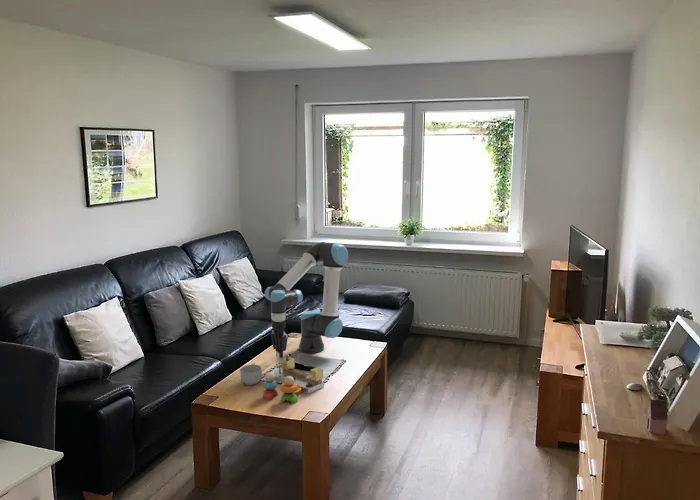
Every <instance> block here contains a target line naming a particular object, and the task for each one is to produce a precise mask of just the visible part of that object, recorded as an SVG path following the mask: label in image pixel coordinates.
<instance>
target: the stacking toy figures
mask: <svg viewBox="0 0 700 500" xmlns="http://www.w3.org/2000/svg"><path fill="white" fill-rule="evenodd" d="M274 374H275V373H274V372H272V371H269V372H266V374H265V376H264V378H265V380H264V382H263V384H262V387H263V389H265V390H264V392H263V395H262V399H263V400H265V401H273V399H274V396H278V395H279V393H278V391H277V389H276V388H277V387H278V382H276V381H275V380H274V379H275V375H274ZM280 391H281V392H283V393H284V394H283V395H282V397H281V399H280V403H284V402H285V401H286V400H287V401H288V402H290V403H291V404H292V405H295V404H297V403H298V402H299V397H298V396H299V395H301V392H302V391H301V387H299V386H297V384H296V383H294V379H293V377H291V376H287V377H285V379H284V383H283V384H281V385H280Z"/></svg>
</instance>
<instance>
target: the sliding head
mask: <svg viewBox="0 0 700 500" xmlns="http://www.w3.org/2000/svg"><path fill="white" fill-rule="evenodd" d="M295 366H296V365H295V358H293V357H291V356H290V355H285V357H283V359H281V363H280V364H278V365H276V367H275V368H276V369H278V373H279V374H281V371H282V370H283V369H286V370H289V369H292V368H293V369H296V367H295ZM281 369H282V370H281Z"/></svg>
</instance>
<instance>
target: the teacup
mask: <svg viewBox="0 0 700 500" xmlns="http://www.w3.org/2000/svg"><path fill="white" fill-rule="evenodd" d="M239 373H240V379H241V381H242V383H244V384H245V385H247V386H253V385H254V386H255V385H257V384H258V383H259V382H260V381H261V380H262V377H263V375H262V365H260V364H256V363H254V362H253V363H251V364H248V365H244V366H241V367H240V368H239Z"/></svg>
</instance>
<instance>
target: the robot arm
mask: <svg viewBox="0 0 700 500" xmlns="http://www.w3.org/2000/svg"><path fill="white" fill-rule="evenodd" d="M348 259H349V251H348V250H347V248H346V246H345V245H343V244H341V243H335V242H334V243H332V242H325V241H321V242H318V243H316V244H314V245H312V246H311V247H309V248H308V249H306V251H305V252H304V253H303V254H302V257H301V258H300V259H299V260H298V261H297V262H296V263H295V264H294V265H293V266H292V267H291V268H290V269H289V270H288V271H287V272H286V274H285V275H283V276H282V277H281V278H280V279H279V280H278V282H277V283H275V285H274V286H267V288H265V291H264V298H266V300H269V301H270V312H271V313H270V314H271V321H270V322H271V328H272V330H269V334H270V338H271V344H272V348H273V350H275V352H276V363H277V364H278V365H281V359H283V358H284V352H285V351H286V350H287V345H288V340H289V339H288V338H289V336H290V335H289V334H288V333H286V327H287V321H286V319H287V316H286V315H287V311H286V310H287V309H286V308H287V307H292V306H295V305H297V304H298V305H299V304H300V303H302V302H303V300H304V299H303V298H304V295H303V292H302V291H301V290H300V289H293V290H291V289H292V288H293V287H294V285H296V284H297V282H299V280H301V278H303V276H304V275H305V274H306V273H307V271H309V270H310V269H311V268H312V267H314V266H316V265H317V264H318V263H322V267H323V268H324V282H323V294H322V308H321V311H320V310H317V309H316V310H315V309H313V310H308V311H307V310H306V311H304V312H302V313H301V314H300V332H301V333H300V335H301V337H300V341H299V344H298V351H299V352H300V353H305V354H317V353H321V352H322V351H323V352H324V350H325V343H324V341H323V338H322V337H325V338H326V339H327V338H328V339H329V338H330V339H335V338H337V337H338V336H339V335H340V334H341V332H342V331H343V326H344V325H343V324H344V323H343V321H342V320H341V319H340V313H339V311H338V302H339V292H340V291H339V290H340V277H341V270H342V269H343V268H344V265H346V264H347V262H348Z"/></svg>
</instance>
